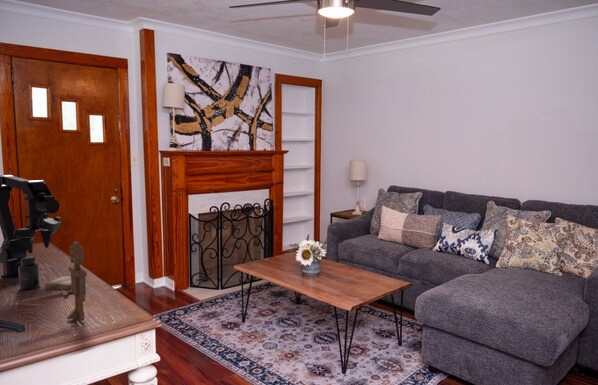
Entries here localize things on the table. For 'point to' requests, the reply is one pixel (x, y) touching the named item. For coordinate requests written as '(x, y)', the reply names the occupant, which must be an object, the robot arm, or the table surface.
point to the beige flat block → (60, 283)
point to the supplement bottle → (28, 273)
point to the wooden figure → (76, 283)
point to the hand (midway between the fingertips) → (38, 250)
